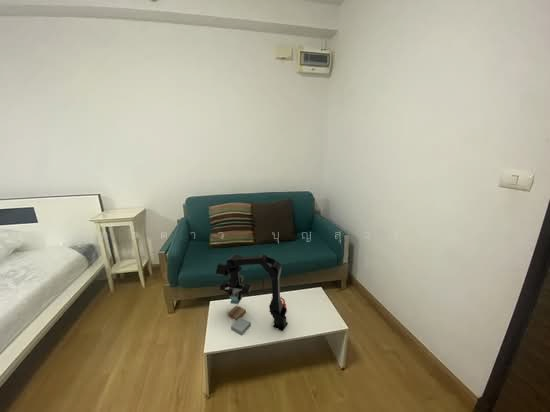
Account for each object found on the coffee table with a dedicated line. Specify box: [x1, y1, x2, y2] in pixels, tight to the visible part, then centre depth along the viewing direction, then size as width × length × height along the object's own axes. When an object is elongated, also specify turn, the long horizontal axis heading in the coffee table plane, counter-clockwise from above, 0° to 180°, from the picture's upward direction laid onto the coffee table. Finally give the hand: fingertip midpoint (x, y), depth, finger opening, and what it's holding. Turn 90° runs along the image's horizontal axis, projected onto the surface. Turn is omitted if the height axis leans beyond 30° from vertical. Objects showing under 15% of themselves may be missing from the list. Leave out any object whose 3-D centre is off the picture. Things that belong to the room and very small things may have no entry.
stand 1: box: [227, 304, 247, 322], centre depth 142 cm, size 8×8×2 cm
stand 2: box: [230, 317, 252, 336], centre depth 132 cm, size 8×8×2 cm
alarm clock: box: [270, 295, 288, 310], centre depth 147 cm, size 10×6×15 cm
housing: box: [229, 289, 244, 306], centre depth 137 cm, size 5×7×5 cm
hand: (236, 299), depth 137 cm, fingers closed on housing, 5 cm apart
